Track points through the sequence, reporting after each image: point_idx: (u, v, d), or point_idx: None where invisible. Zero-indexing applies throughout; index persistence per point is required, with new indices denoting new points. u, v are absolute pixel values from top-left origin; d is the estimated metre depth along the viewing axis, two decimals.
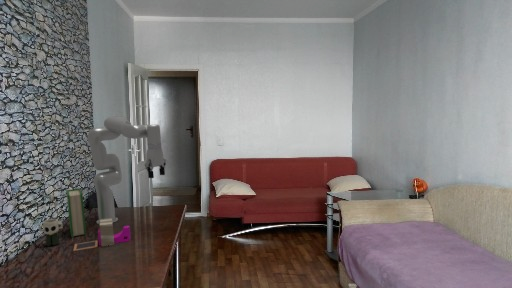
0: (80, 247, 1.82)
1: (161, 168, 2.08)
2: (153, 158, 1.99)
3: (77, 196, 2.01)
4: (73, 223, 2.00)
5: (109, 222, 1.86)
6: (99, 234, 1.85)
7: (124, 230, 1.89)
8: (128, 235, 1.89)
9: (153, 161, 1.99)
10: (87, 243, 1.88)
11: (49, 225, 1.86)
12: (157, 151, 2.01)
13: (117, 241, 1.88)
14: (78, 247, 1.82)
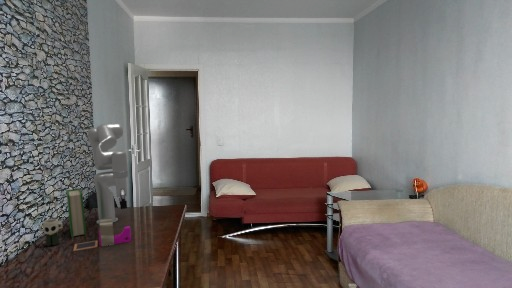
0: (80, 247, 1.82)
1: None
2: (126, 186, 1.87)
3: (77, 196, 2.01)
4: (73, 223, 2.00)
5: (109, 222, 1.86)
6: (100, 234, 1.84)
7: (125, 230, 1.88)
8: (129, 235, 1.89)
9: (126, 190, 1.87)
10: (87, 243, 1.88)
11: (49, 225, 1.86)
12: None
13: (118, 241, 1.87)
14: (78, 247, 1.82)
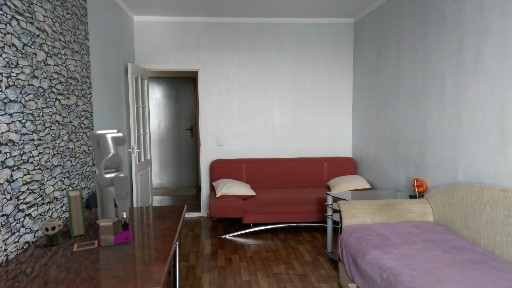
0: (80, 247, 1.82)
1: None
2: (128, 209, 1.88)
3: (77, 196, 2.01)
4: (73, 223, 2.00)
5: (109, 222, 1.86)
6: (100, 234, 1.84)
7: None
8: (129, 235, 1.88)
9: (128, 212, 1.88)
10: (87, 243, 1.88)
11: (49, 225, 1.86)
12: None
13: (118, 241, 1.87)
14: (78, 247, 1.82)
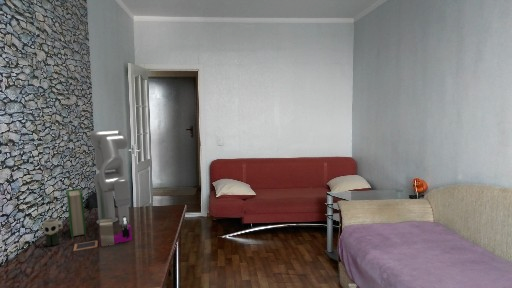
0: (80, 247, 1.82)
1: None
2: (128, 214, 1.88)
3: (77, 196, 2.01)
4: (73, 223, 2.00)
5: (109, 222, 1.86)
6: None
7: None
8: (130, 234, 1.90)
9: (128, 217, 1.88)
10: (87, 243, 1.88)
11: (49, 225, 1.86)
12: None
13: (119, 240, 1.88)
14: (78, 247, 1.82)
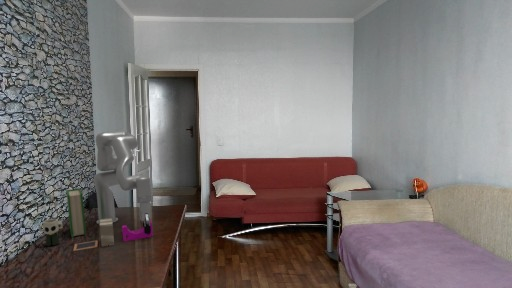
0: (80, 247, 1.82)
1: (145, 222, 1.99)
2: None
3: (77, 196, 2.01)
4: (73, 223, 2.00)
5: (109, 222, 1.86)
6: (123, 230, 1.89)
7: None
8: (151, 230, 1.95)
9: None
10: (87, 243, 1.88)
11: (49, 225, 1.86)
12: None
13: (141, 236, 1.93)
14: (78, 247, 1.82)
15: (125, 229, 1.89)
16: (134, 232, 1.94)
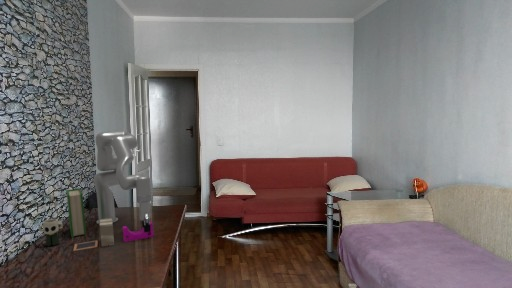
0: (80, 247, 1.82)
1: None
2: (149, 210, 1.93)
3: (77, 196, 2.01)
4: (73, 223, 2.00)
5: (109, 222, 1.86)
6: (124, 231, 1.89)
7: None
8: (152, 231, 1.94)
9: None
10: (87, 243, 1.88)
11: (49, 225, 1.86)
12: (149, 202, 1.96)
13: (141, 237, 1.92)
14: (78, 247, 1.82)
15: (126, 230, 1.89)
16: (135, 233, 1.93)
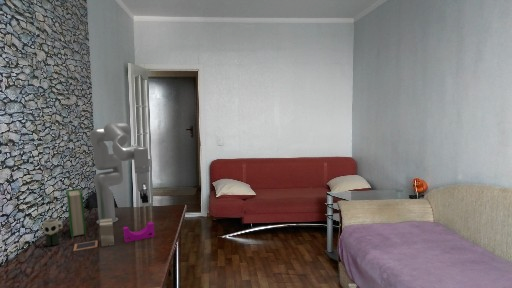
0: (80, 247, 1.82)
1: None
2: (147, 181, 1.91)
3: (77, 196, 2.01)
4: (73, 223, 2.00)
5: (109, 222, 1.86)
6: (125, 231, 1.88)
7: (149, 226, 1.93)
8: (153, 231, 1.94)
9: (147, 185, 1.92)
10: (87, 243, 1.88)
11: (49, 225, 1.86)
12: None
13: (142, 237, 1.92)
14: (78, 247, 1.82)
15: (127, 230, 1.88)
16: (135, 233, 1.93)
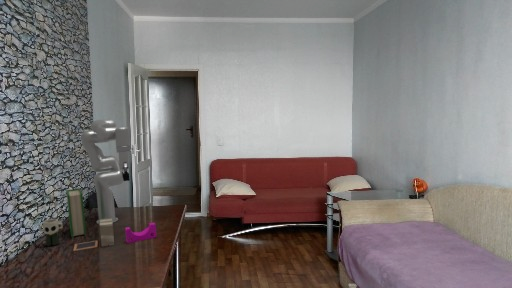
0: (80, 247, 1.82)
1: None
2: (128, 160, 1.98)
3: (77, 196, 2.01)
4: (73, 223, 2.00)
5: (109, 222, 1.86)
6: (127, 232, 1.86)
7: (151, 227, 1.92)
8: (155, 232, 1.93)
9: None
10: (87, 243, 1.88)
11: (49, 225, 1.86)
12: (128, 153, 2.02)
13: (144, 238, 1.90)
14: (78, 247, 1.82)
15: (129, 231, 1.87)
16: (137, 234, 1.91)
